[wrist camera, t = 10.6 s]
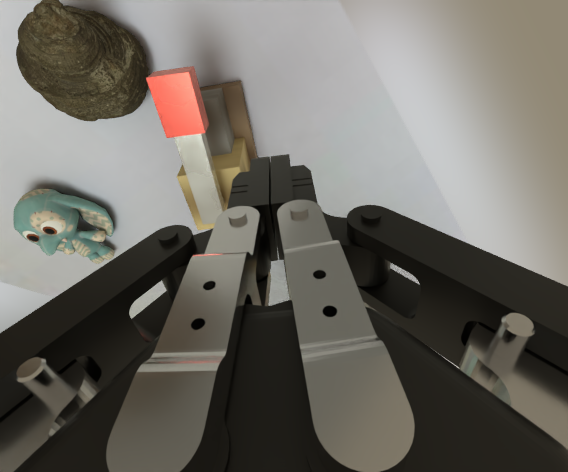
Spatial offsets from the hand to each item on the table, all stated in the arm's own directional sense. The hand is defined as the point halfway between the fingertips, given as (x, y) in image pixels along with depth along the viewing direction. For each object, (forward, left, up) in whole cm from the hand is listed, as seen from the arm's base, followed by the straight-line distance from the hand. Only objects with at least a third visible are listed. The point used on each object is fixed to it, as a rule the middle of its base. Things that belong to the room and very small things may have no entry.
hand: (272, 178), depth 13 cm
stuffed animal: (-14, +27, -23) cm, 38 cm away
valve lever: (-4, +7, -14) cm, 16 cm away
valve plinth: (-9, +7, -23) cm, 26 cm away
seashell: (+2, +17, -23) cm, 29 cm away
